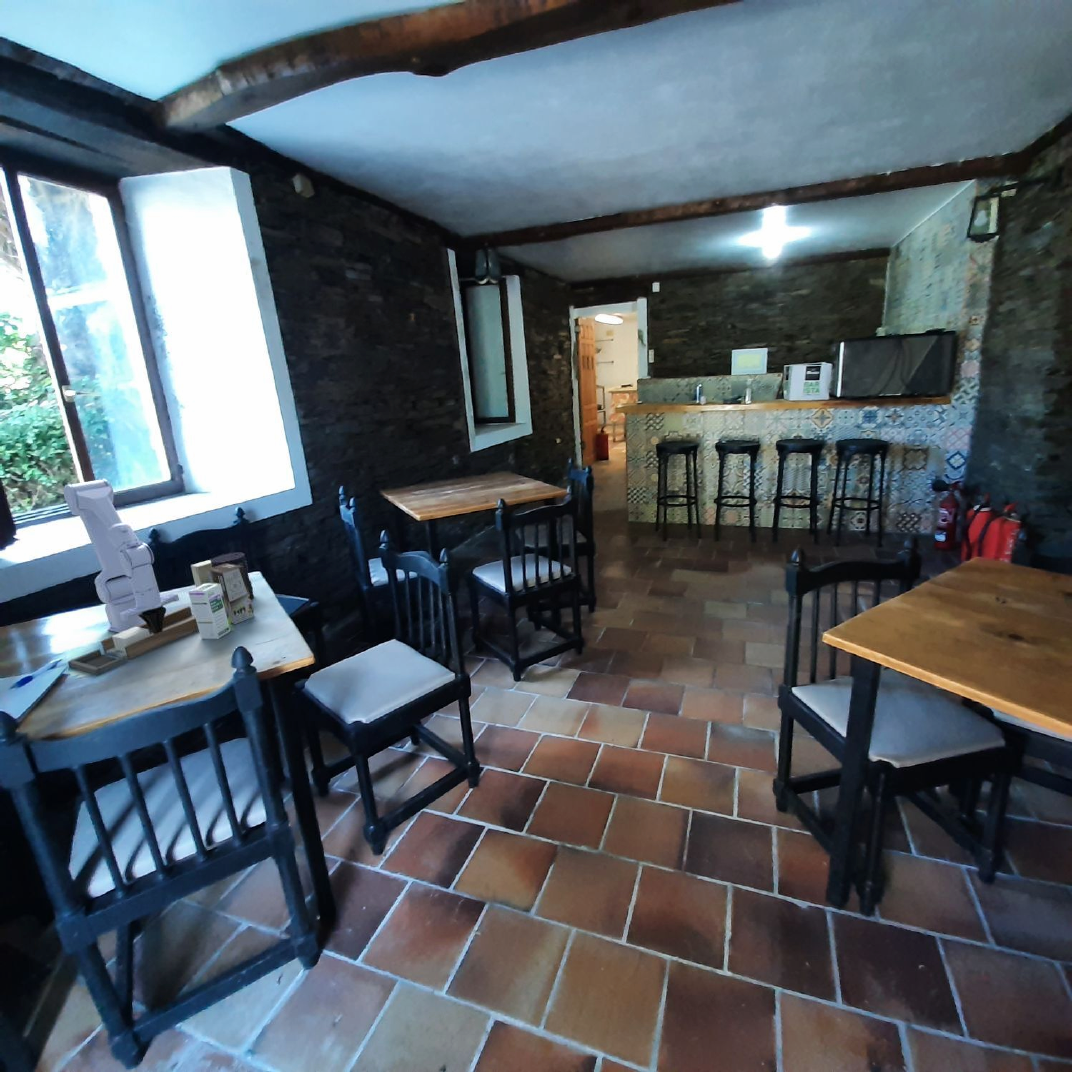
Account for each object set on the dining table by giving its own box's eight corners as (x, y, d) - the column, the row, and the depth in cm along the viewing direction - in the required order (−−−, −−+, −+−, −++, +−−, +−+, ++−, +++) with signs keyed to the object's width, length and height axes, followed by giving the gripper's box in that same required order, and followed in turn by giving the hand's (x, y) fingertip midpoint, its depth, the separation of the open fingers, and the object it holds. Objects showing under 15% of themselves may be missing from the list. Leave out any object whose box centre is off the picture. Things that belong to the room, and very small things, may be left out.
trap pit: (69, 666, 142) (67, 661, 141) (99, 654, 148) (97, 649, 147) (97, 675, 136) (95, 670, 136) (127, 661, 142) (125, 656, 142)
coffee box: (255, 616, 166) (244, 565, 161) (234, 624, 160) (222, 573, 156) (238, 611, 170) (227, 562, 166) (218, 619, 165) (205, 569, 161)
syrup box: (218, 639, 151) (205, 590, 147) (200, 638, 153) (187, 590, 149) (233, 630, 157) (221, 582, 153) (215, 629, 158) (203, 582, 154)
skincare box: (205, 602, 180) (196, 567, 177) (198, 600, 183) (189, 565, 179) (224, 595, 185) (216, 560, 182) (217, 593, 188) (209, 559, 184)
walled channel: (104, 652, 148) (100, 641, 147) (190, 616, 169) (187, 606, 168) (130, 659, 143) (126, 647, 142) (216, 621, 164) (213, 610, 163)
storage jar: (231, 608, 173) (220, 563, 169) (214, 603, 178) (203, 560, 174) (260, 597, 181) (251, 554, 177) (244, 592, 186) (234, 550, 182)
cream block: (116, 649, 148) (111, 636, 147) (139, 639, 153) (135, 626, 152) (128, 652, 145) (124, 639, 144) (152, 642, 151) (148, 629, 149)
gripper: (124, 600, 143) (139, 647, 147) (180, 580, 155) (192, 624, 159) (110, 597, 146) (124, 643, 150) (165, 578, 159) (177, 621, 162)
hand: (158, 633), depth 155 cm, fingers closed
